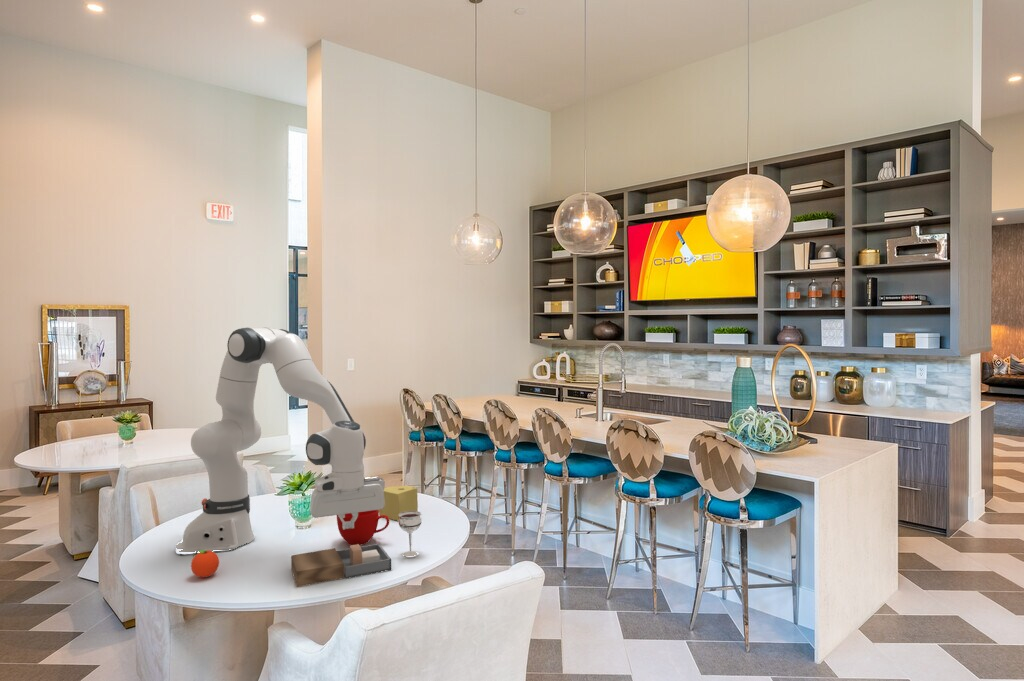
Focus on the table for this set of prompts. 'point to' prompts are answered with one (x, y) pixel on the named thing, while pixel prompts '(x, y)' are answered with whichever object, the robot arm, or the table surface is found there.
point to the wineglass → (409, 525)
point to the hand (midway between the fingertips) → (348, 528)
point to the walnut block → (317, 567)
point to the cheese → (399, 501)
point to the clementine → (204, 563)
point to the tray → (365, 567)
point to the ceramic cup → (361, 527)
